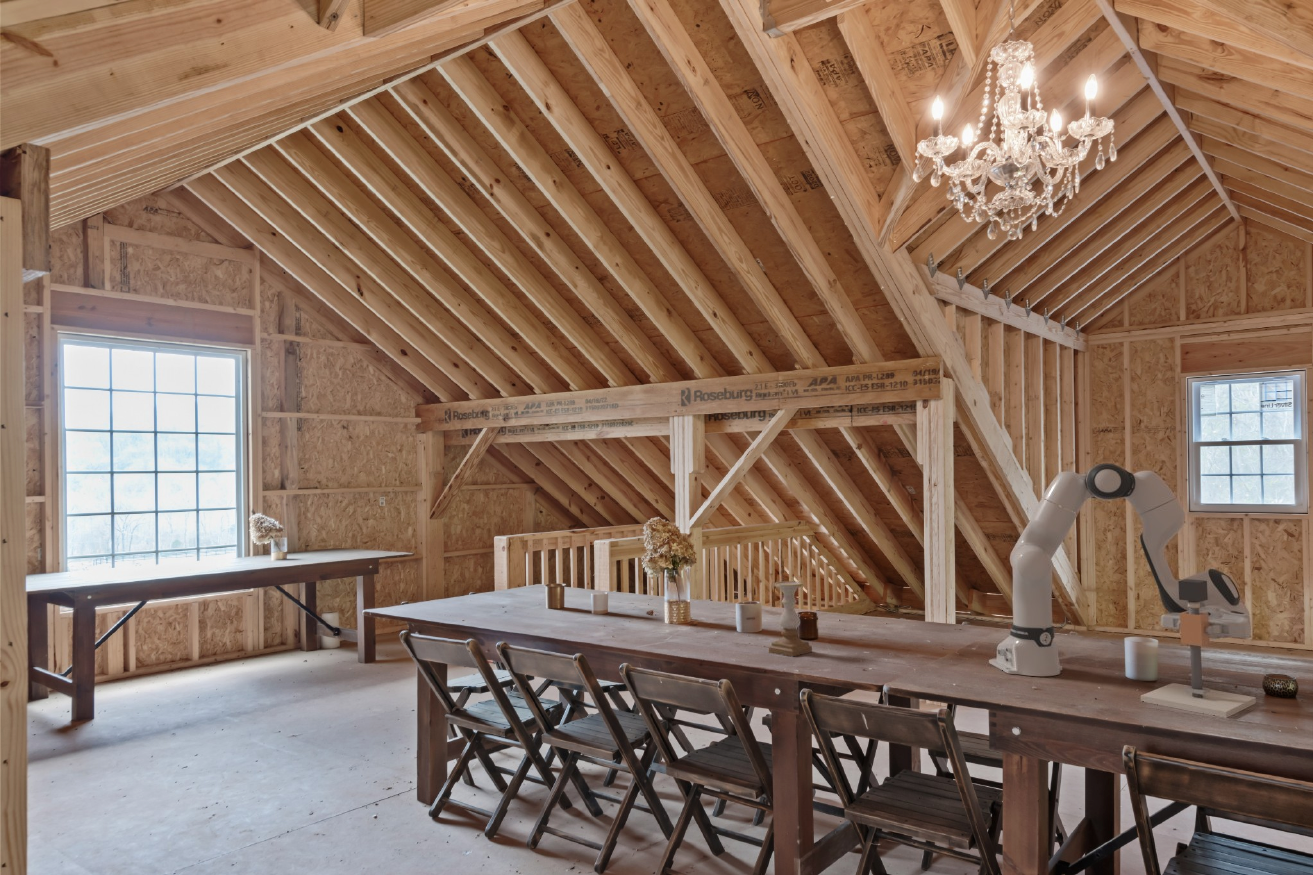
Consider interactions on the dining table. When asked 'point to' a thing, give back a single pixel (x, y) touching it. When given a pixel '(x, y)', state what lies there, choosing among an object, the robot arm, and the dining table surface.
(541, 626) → the dining table surface
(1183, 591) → the post
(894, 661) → the dining table surface
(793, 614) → the candle holder
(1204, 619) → the sleeve
